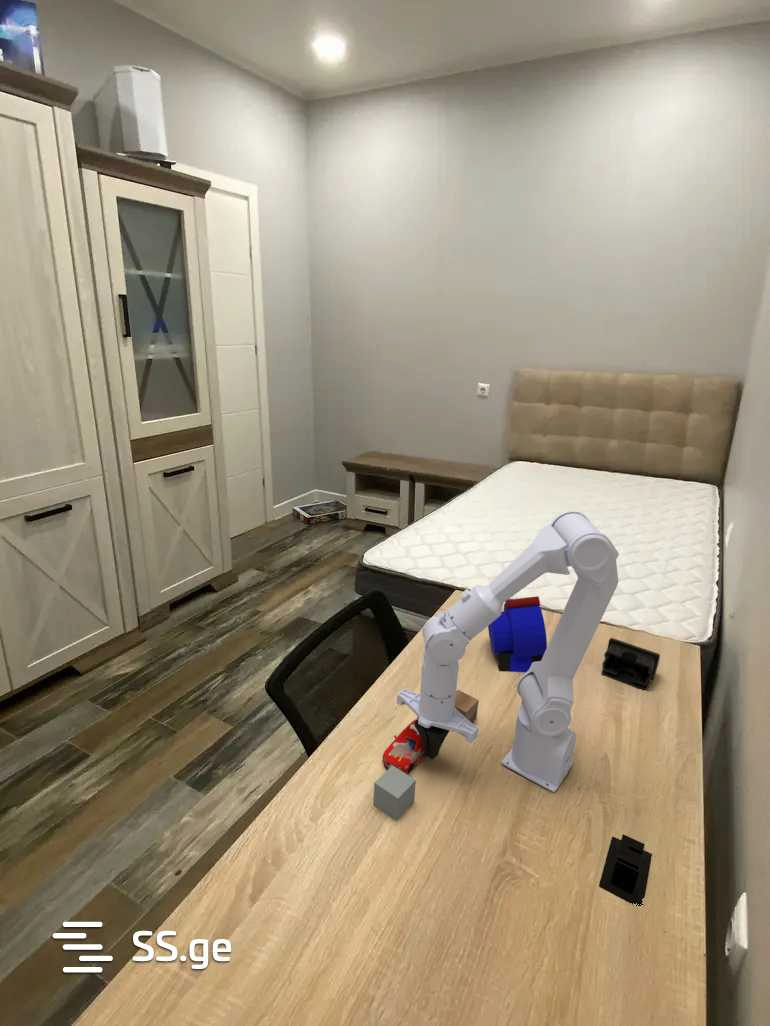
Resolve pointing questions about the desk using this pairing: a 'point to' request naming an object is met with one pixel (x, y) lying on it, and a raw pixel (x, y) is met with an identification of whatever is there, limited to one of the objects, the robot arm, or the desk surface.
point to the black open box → (626, 870)
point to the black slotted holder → (630, 664)
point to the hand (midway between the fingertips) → (432, 754)
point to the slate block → (394, 792)
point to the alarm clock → (518, 635)
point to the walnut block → (466, 705)
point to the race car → (405, 749)
